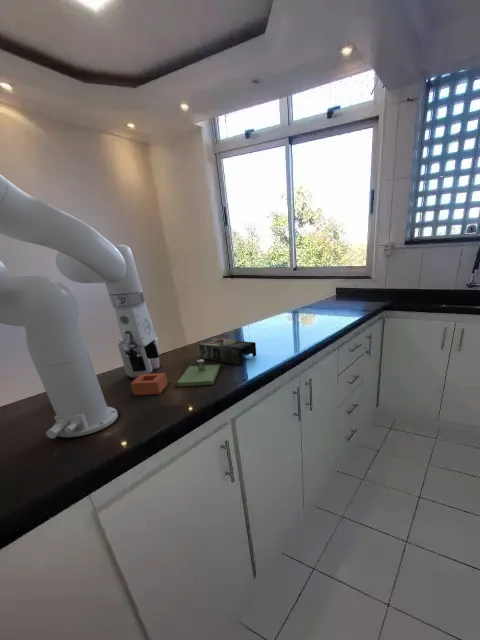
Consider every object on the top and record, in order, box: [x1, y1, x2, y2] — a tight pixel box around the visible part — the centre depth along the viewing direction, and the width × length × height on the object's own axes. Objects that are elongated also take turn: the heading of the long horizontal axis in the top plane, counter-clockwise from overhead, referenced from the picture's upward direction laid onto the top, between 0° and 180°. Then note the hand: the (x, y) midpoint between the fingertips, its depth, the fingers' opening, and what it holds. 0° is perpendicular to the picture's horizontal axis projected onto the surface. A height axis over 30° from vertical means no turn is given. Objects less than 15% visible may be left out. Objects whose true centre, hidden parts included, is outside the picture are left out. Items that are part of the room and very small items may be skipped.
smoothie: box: [150, 336, 160, 370], centre depth 102 cm, size 6×6×14 cm
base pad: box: [176, 358, 221, 387], centre depth 95 cm, size 14×10×4 cm
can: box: [117, 337, 153, 379], centre depth 96 cm, size 8×8×12 cm
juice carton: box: [197, 337, 257, 366], centre depth 110 cm, size 20×10×6 cm, turn 62°
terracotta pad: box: [130, 372, 169, 396], centre depth 87 cm, size 7×7×4 cm
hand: (146, 364), depth 85 cm, fingers open, 9 cm apart
